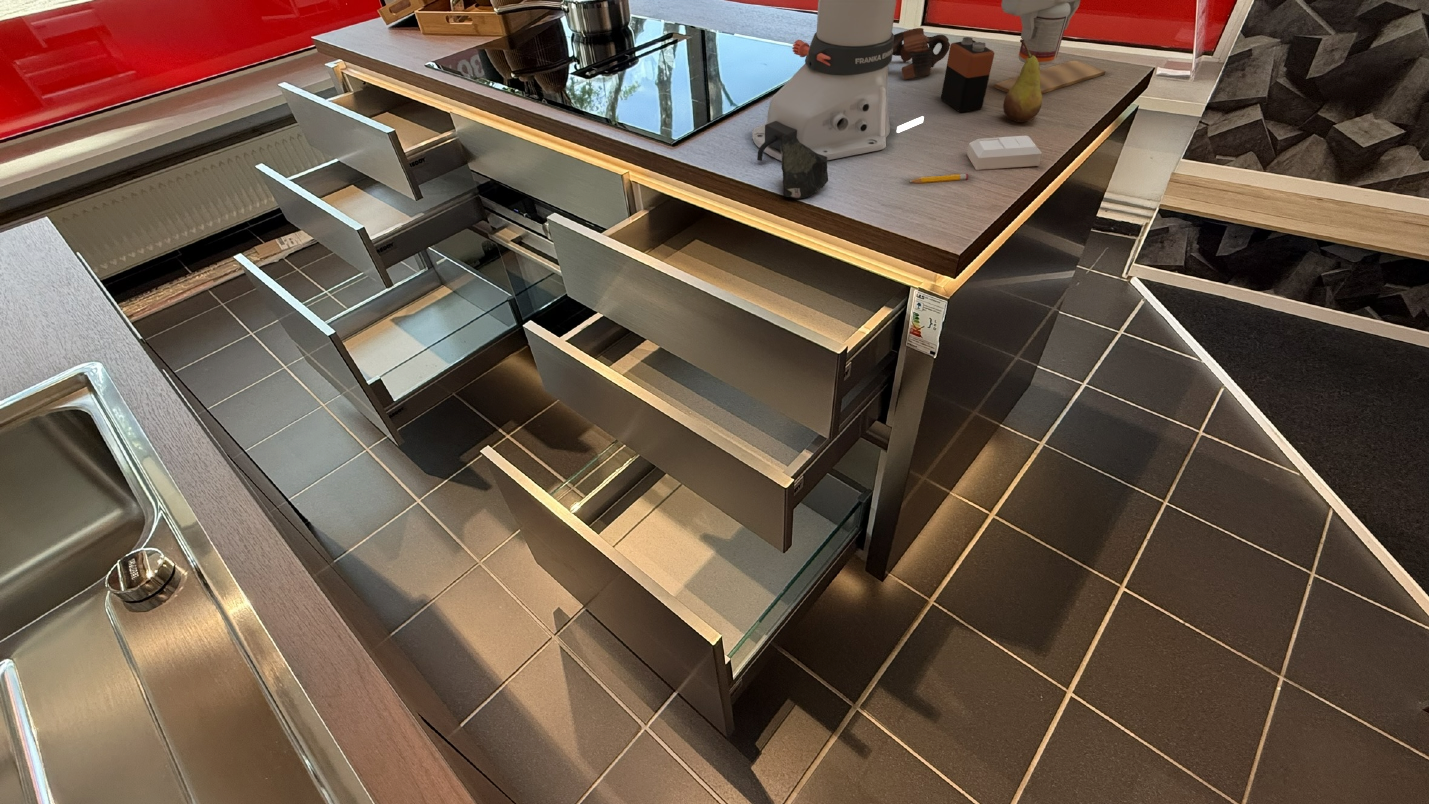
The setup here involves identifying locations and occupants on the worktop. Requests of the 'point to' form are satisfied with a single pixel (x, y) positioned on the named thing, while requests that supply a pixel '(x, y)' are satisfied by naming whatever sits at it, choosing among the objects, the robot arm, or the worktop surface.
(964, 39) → the battery
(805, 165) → the rock
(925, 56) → the pottery mug
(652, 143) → the worktop surface
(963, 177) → the pencil
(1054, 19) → the pill bottle
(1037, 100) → the fruit
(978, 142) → the soap bar
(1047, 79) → the wooden board
